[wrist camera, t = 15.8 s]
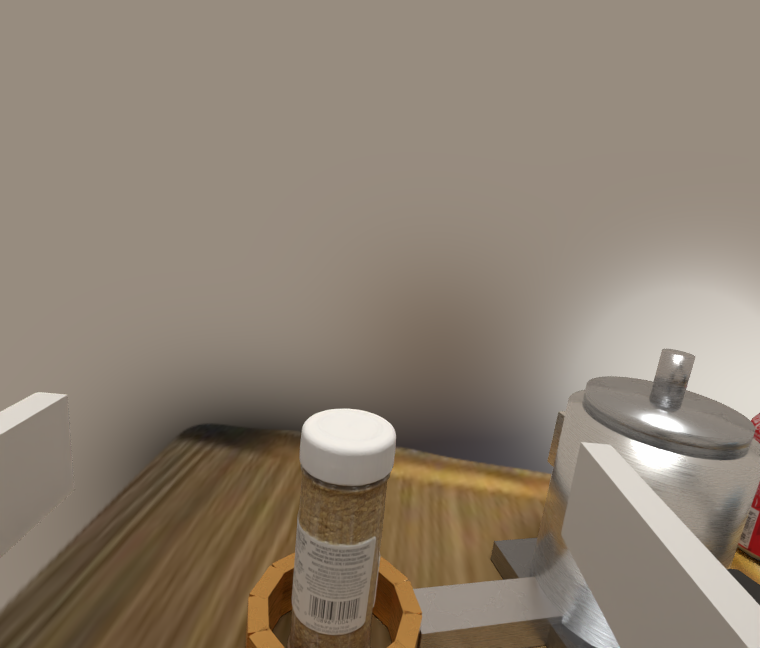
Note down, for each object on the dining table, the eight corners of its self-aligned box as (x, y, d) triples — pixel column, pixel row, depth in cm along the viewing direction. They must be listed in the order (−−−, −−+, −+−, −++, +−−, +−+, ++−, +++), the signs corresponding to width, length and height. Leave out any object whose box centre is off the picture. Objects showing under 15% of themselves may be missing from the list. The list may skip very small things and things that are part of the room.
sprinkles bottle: (378, 628, 28) (406, 415, 24) (354, 704, 23) (384, 457, 20) (305, 605, 29) (322, 398, 25) (269, 674, 24) (285, 434, 21)
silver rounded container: (605, 536, 38) (661, 326, 34) (754, 682, 27) (865, 393, 23) (247, 565, 31) (262, 302, 27) (242, 784, 20) (267, 383, 15)
